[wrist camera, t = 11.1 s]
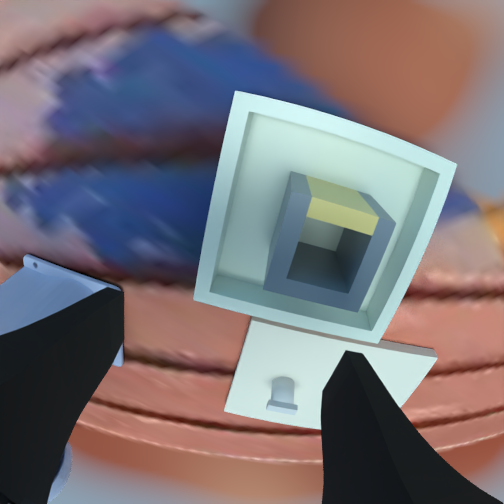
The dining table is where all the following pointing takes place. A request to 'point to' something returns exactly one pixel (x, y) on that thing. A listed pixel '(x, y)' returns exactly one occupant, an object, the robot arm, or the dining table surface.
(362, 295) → the collar
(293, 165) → the tray
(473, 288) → the dining table surface
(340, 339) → the base
